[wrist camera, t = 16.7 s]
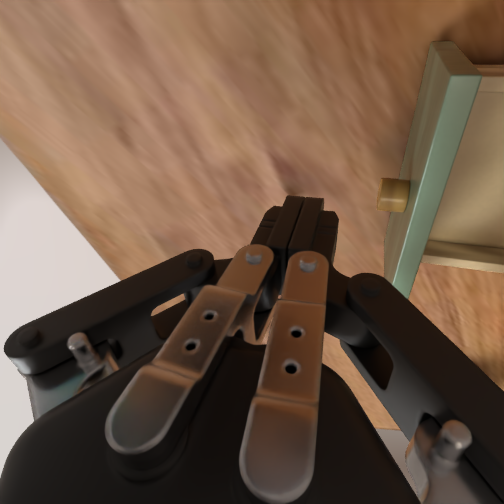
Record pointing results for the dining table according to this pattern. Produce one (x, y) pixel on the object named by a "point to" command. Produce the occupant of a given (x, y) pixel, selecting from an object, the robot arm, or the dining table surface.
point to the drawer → (449, 173)
